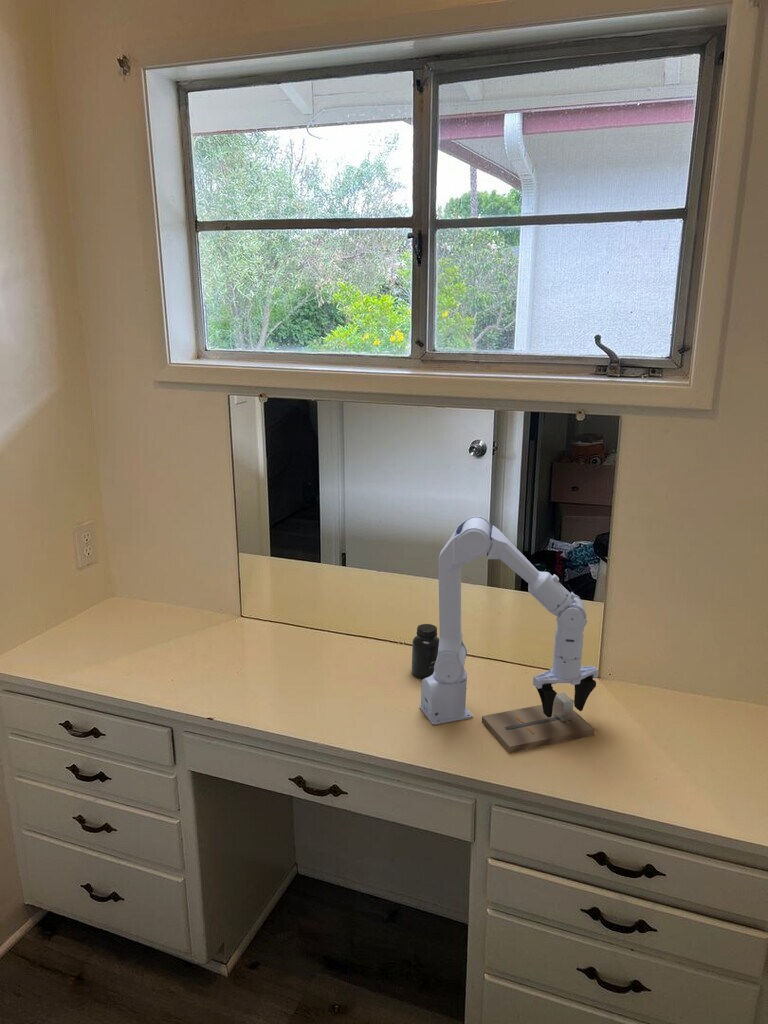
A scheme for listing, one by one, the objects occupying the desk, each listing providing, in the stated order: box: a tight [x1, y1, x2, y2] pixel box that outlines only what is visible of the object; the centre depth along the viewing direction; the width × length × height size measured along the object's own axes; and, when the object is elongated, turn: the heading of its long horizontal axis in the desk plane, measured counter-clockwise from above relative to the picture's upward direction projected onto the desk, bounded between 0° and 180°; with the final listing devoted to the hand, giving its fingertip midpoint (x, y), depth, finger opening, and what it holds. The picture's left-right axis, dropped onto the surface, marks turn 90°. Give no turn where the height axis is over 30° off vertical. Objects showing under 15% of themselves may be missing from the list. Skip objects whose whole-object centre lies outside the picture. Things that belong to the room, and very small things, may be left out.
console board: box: [481, 703, 596, 754], centre depth 156 cm, size 20×12×2 cm, turn 110°
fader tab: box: [553, 692, 574, 722], centre depth 157 cm, size 2×4×4 cm, turn 20°
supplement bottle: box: [411, 623, 440, 680], centre depth 178 cm, size 7×7×12 cm
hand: (562, 711), depth 158 cm, fingers open, 7 cm apart
